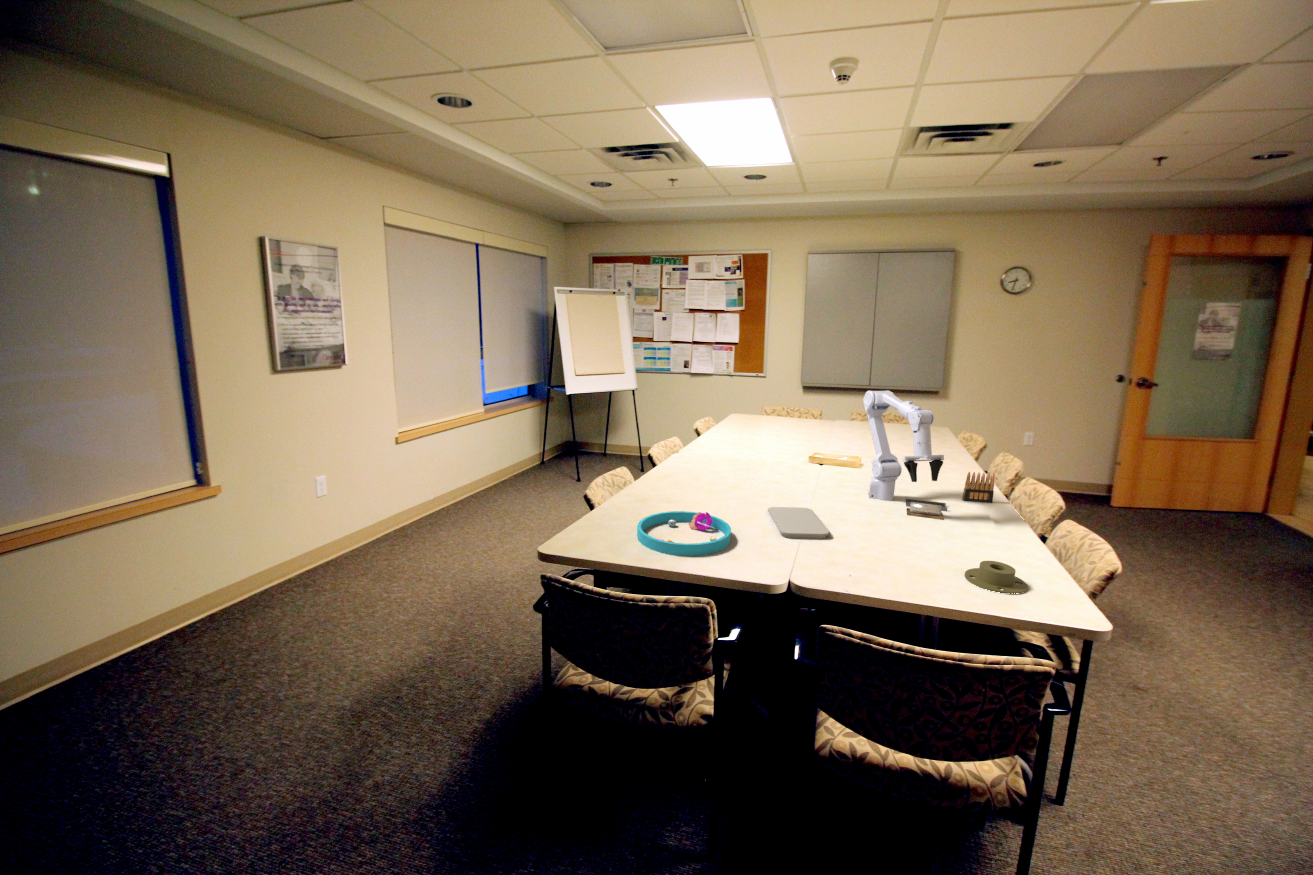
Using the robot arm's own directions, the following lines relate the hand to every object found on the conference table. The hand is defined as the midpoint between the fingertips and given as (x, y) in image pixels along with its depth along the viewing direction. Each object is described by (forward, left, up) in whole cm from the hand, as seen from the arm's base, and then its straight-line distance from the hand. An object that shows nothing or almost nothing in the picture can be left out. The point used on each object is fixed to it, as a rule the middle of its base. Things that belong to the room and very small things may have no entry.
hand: (924, 481), depth 205 cm
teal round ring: (-72, -53, -15) cm, 91 cm away
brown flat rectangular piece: (+2, +2, -14) cm, 14 cm away
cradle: (+3, +13, -14) cm, 19 cm away
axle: (+2, +2, -13) cm, 13 cm away
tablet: (-40, -26, -14) cm, 50 cm away
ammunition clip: (+23, +32, -14) cm, 41 cm away
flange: (+17, -48, -14) cm, 53 cm away
